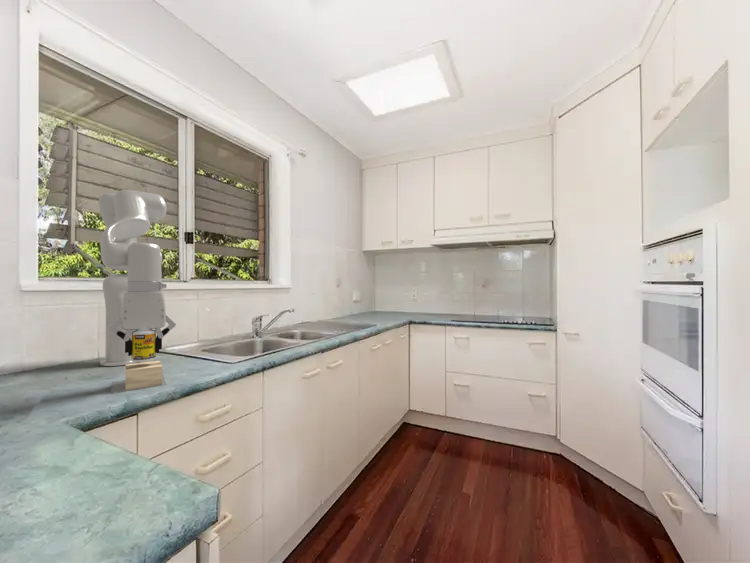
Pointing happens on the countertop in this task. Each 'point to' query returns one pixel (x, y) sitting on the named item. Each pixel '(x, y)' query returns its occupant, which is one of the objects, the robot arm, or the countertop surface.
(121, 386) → the slate tile
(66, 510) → the countertop surface
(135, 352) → the supplement bottle
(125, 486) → the countertop surface
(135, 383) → the maple block
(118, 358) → the robot arm
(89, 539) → the countertop surface
